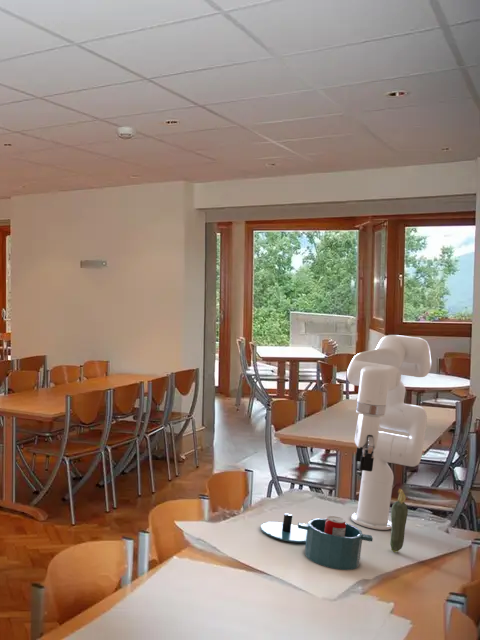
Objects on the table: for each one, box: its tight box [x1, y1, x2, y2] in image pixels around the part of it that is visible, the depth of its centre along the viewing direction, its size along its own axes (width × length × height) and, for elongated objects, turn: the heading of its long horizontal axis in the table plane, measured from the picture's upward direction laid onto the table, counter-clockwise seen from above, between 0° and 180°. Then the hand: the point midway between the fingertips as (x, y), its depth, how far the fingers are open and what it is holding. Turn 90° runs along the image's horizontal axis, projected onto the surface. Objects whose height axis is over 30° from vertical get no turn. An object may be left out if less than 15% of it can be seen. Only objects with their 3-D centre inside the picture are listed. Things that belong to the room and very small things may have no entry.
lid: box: [260, 512, 307, 543], centre depth 237 cm, size 16×16×7 cm
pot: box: [297, 518, 374, 571], centre depth 220 cm, size 15×20×10 cm
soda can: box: [324, 515, 346, 537], centre depth 220 cm, size 6×6×12 cm
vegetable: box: [389, 488, 409, 553], centre depth 227 cm, size 4×4×20 cm
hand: (363, 465), depth 219 cm, fingers open, 9 cm apart
